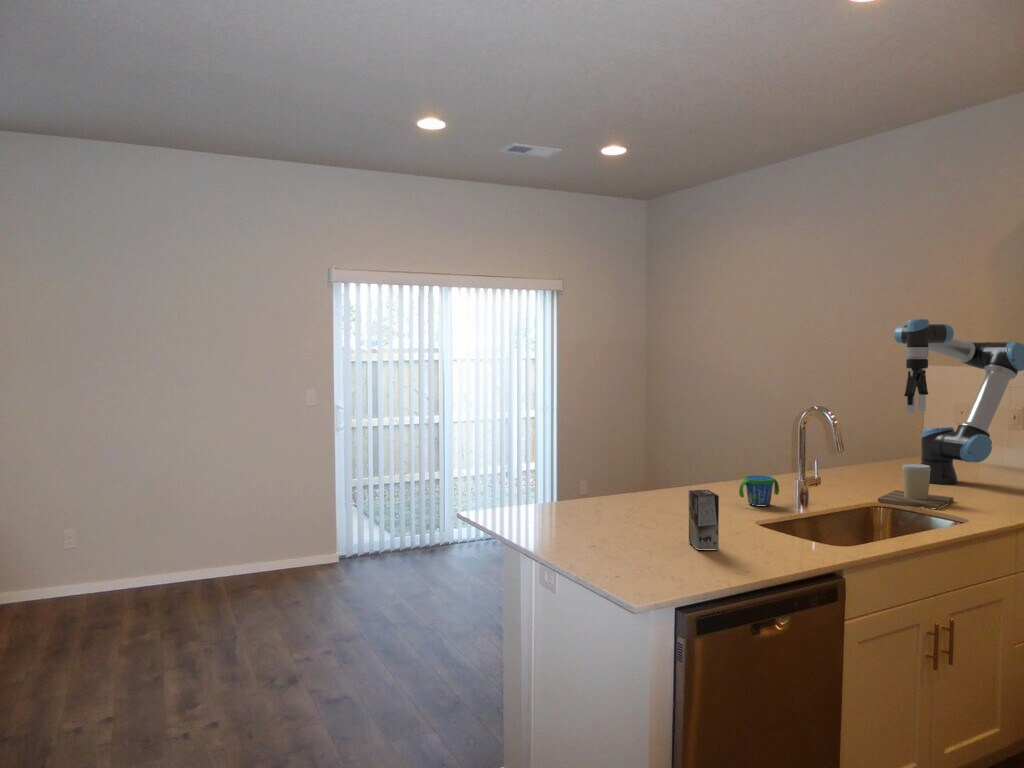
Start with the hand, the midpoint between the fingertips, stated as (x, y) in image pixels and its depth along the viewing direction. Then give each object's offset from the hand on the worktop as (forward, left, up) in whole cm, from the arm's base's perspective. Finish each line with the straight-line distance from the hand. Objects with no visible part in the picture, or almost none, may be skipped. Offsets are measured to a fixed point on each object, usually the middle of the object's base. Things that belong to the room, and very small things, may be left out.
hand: (916, 412), depth 288 cm
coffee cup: (+20, +6, -30) cm, 37 cm away
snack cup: (+64, -34, -32) cm, 79 cm away
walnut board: (+20, +6, -32) cm, 38 cm away
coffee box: (+128, -20, -32) cm, 133 cm away
